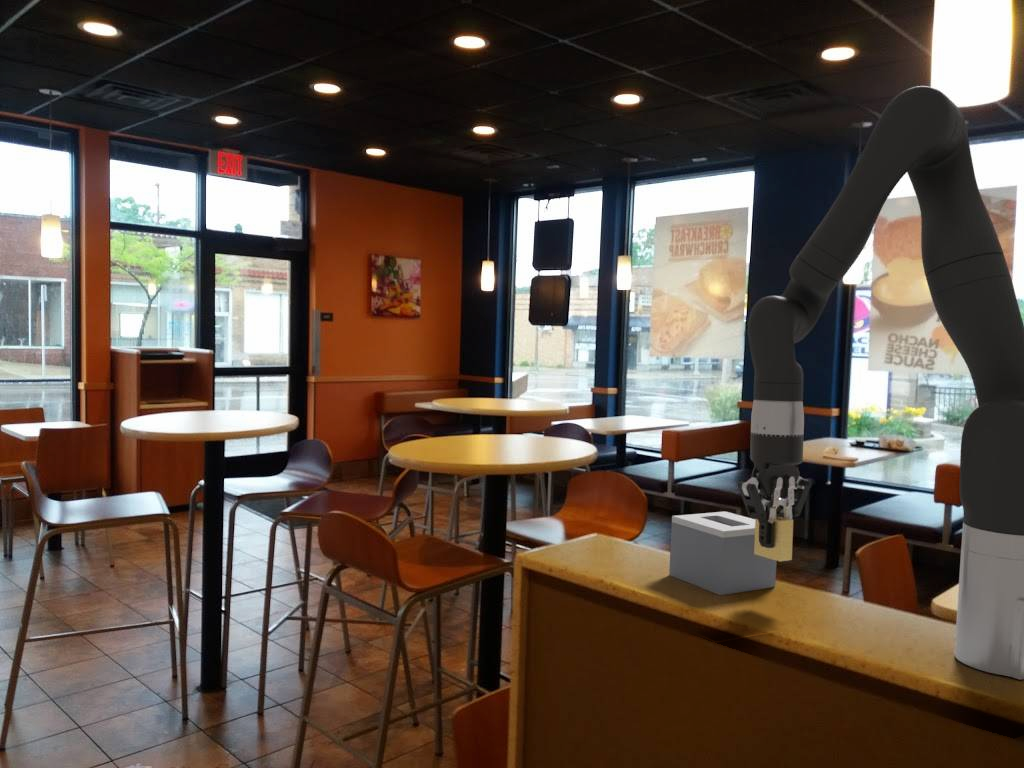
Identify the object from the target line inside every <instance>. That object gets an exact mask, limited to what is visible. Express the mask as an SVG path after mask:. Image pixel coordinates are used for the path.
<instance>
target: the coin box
mask: <svg viewBox="0 0 1024 768" xmlns="http://www.w3.org/2000/svg"><path fill="white" fill-rule="evenodd" d="M754 545H755V518H752V517H749V516H744V515H740V514H737V513H733V512H730V511H716V512H705V513H702V512H701V513H692V514H678V515H677V514H676V515H672V516H671V531H670V547H669V548H670V549H669V550H670V552H669V570H668V571H669V573H668V575H669V576H671V577H673V578H675V579H678V580H681V581H683V582H686V583H688V584H690V585H692V586H696V587H698V588H701V589H703V590H706V591H708V592H711V593H714V594H716V595H719V596H726V595H730V594H738V593H744V592H751V591H758V590H765V589H770V588H776V584H777V583H776V581H777V579H776V577H777V562H778V561H776V560H773V559H769V558H766V557H762V556H759V555H755V554H754ZM770 579H771V580H770ZM774 580H775V581H774Z"/></svg>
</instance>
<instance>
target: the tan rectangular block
mask: <svg viewBox="0 0 1024 768" xmlns="http://www.w3.org/2000/svg"><path fill="white" fill-rule="evenodd" d="M754 519H755V518H754ZM773 524H774V542H773V547H772V548H766V547H762V546H761V545H760V543H759V521H758V520H757V519H755V545H754V554H755V555H759V556H762V557H766V558H769V559H773V560H776V561H777V562H779V563H780V562H785V561H786V562H787V561H792V559H793V540H794V538H793V537H794V519H793V518H792V519H788V518H783V517H779V516H775V521H774V523H773Z"/></svg>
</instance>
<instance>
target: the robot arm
mask: <svg viewBox="0 0 1024 768" xmlns="http://www.w3.org/2000/svg"><path fill="white" fill-rule="evenodd" d="M971 152H972V151H971V146H970V141H969V132H968V128H967V122H966V120H965V117H964V115H963V112H962V111H961V110H960V109H959V107H958V106H957V105H956V103H954V102H953V101H952V100H951V99H950V98H949V97H948V96H947V95H946V94H945V93H944V92H942V91H941V90H939V89H938V88H936V87H935V88H934V87H932V86H929V85H928V86H927V85H926V86H925V85H920V86H919V85H917V86H913V87H910V88H908V89H906V90H903V91H901V92H900V93H899V94H897V95H896V96H894V97H893V98H892V100H890V102H888V104H887V105H886V107H885V108H884V110H883V112H882V113H881V115H880V116H879V119H878V121H877V122H876V124H875V126H874V128H873V130H872V132H871V134H870V136H869V138H868V140H867V143H866V144H865V146H864V148H863V151H862V152H861V154H860V156H859V158H858V160H857V161H856V163H855V165H854V167H853V169H852V171H851V172H850V175H849V176H848V178H847V180H846V182H845V183H844V185H843V187H842V189H841V190H840V192H839V193H838V195H837V197H836V198H835V200H834V202H833V204H832V205H831V207H830V208H829V210H828V212H827V213H826V214H825V216H824V217H823V218H822V220H821V221H820V224H818V226H817V227H816V229H815V230H814V231H813V233H812V234H811V236H810V237H809V239H808V240H807V242H806V243H805V244H804V246H803V247H802V249H801V250H800V252H798V255H796V257H795V258H794V259H793V261H792V263H791V265H790V266H789V277H790V278H791V279H790V280H789V282H788V284H787V286H786V288H785V289H784V291H783V293H782V294H781V295H767V296H764V297H762V298H760V299H759V300H758V301H757V302H756V303H755V304H754V305H753V307H752V308H751V311H750V314H749V317H748V322H747V337H748V343H749V349H750V355H751V361H752V365H753V369H754V376H753V377H754V378H753V379H754V380H753V403H752V409H751V418H750V419H751V420H750V445H749V446H750V450H749V453H750V454H749V458H750V460H751V461H752V462H753V464H754V466H753V470H752V473H751V477H750V478H749V479H748V480H747V481H746V482H744V481H740V482H739V483H738V485H737V487H738V488H737V489H738V491H739V494H740V496H741V499H742V502H743V504H744V507H745V509H746V512H747V514H748V518H752V519H757V520H758V521H759V543H760V545H761V546H762V547H766V548H772V547H773V542H774V524H773V523H774V521H775V516H779V517H783V518H788V519H793V518H794V517H800V516H801V514H802V513H801V512H802V511H803V508H804V505H805V503H806V500H807V498H808V494H809V492H810V490H811V487H812V481H811V480H810V479H806V478H803V477H802V476H800V471H799V468H798V466H799V465H800V464H802V463H803V462H804V461H803V460H804V435H805V434H804V429H805V414H804V413H805V412H804V402H803V400H804V371H803V370H804V369H803V368H802V366H801V364H799V362H798V361H797V360H796V351H795V344H797V343H799V342H800V341H802V340H804V338H805V337H806V336H808V335H809V333H810V332H812V329H813V328H814V327H815V326H816V324H817V322H818V320H819V318H820V317H821V315H822V313H823V310H824V309H825V308H826V305H827V303H828V301H829V300H830V299H829V298H830V296H831V294H832V293H833V290H835V288H836V287H837V286H838V285H839V283H840V282H841V281H842V280H843V278H844V276H846V274H847V273H848V271H850V269H851V267H852V266H853V264H854V263H855V262H856V260H857V259H858V258H859V256H860V254H861V253H862V251H863V249H864V248H865V246H866V244H867V242H868V240H869V238H870V236H871V234H872V232H873V229H874V227H875V224H876V222H877V219H878V217H879V215H880V212H881V211H882V209H883V207H884V205H885V203H886V201H887V200H888V197H889V196H890V195H891V193H892V191H893V190H894V189H895V187H896V185H897V184H898V183H899V182H900V181H901V179H902V178H903V177H904V176H905V175H906V173H907V175H908V177H909V180H910V182H911V184H912V188H913V190H914V194H915V196H916V199H917V202H918V206H919V211H920V217H921V220H920V221H921V222H920V223H921V225H920V226H921V230H920V231H921V233H920V234H921V236H920V246H921V250H920V251H921V259H922V261H921V262H922V267H923V271H924V272H923V273H924V277H925V279H926V283H927V287H928V290H929V294H930V297H931V301H932V303H933V305H934V308H935V311H936V314H937V316H938V318H939V320H940V322H941V324H942V326H943V327H944V330H945V331H946V333H947V335H948V336H949V338H950V339H951V341H952V343H953V344H954V346H955V347H956V349H957V350H958V352H959V354H960V355H961V357H962V359H963V360H964V363H965V364H966V366H967V369H968V371H969V374H970V377H971V380H972V383H973V387H974V390H975V396H976V399H977V400H976V401H977V407H976V408H975V409H974V410H973V411H972V412H971V413H969V416H968V417H967V419H966V420H965V423H964V425H963V430H962V433H961V442H960V456H959V457H960V458H959V459H960V460H959V461H960V462H959V500H960V502H961V506H962V511H963V512H962V513H963V517H962V534H961V547H960V563H959V578H958V590H957V591H958V593H957V605H956V607H957V610H956V621H955V622H956V623H955V625H956V626H955V627H956V628H955V637H954V643H955V644H954V645H955V646H954V657H955V658H956V659H957V660H958V661H959V662H960V663H962V664H964V665H967V666H969V667H971V668H973V669H976V670H979V671H983V672H985V673H990V674H994V675H999V676H1000V675H1001V676H1004V677H1005V676H1006V677H1010V678H1014V679H1017V680H1024V321H1023V317H1022V314H1021V310H1020V307H1019V303H1018V299H1017V295H1016V291H1015V287H1014V284H1013V279H1012V277H1011V273H1010V270H1009V266H1008V264H1007V260H1006V257H1005V253H1004V249H1003V248H1002V245H1001V243H1000V240H999V237H998V234H997V231H996V229H995V226H994V224H993V221H992V218H991V216H990V214H989V211H988V209H987V206H986V204H985V202H984V199H983V197H982V195H981V192H980V190H979V186H978V183H977V179H976V175H975V169H974V164H973V159H972V153H971ZM766 508H767V510H766ZM766 511H767V512H766Z"/></svg>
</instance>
